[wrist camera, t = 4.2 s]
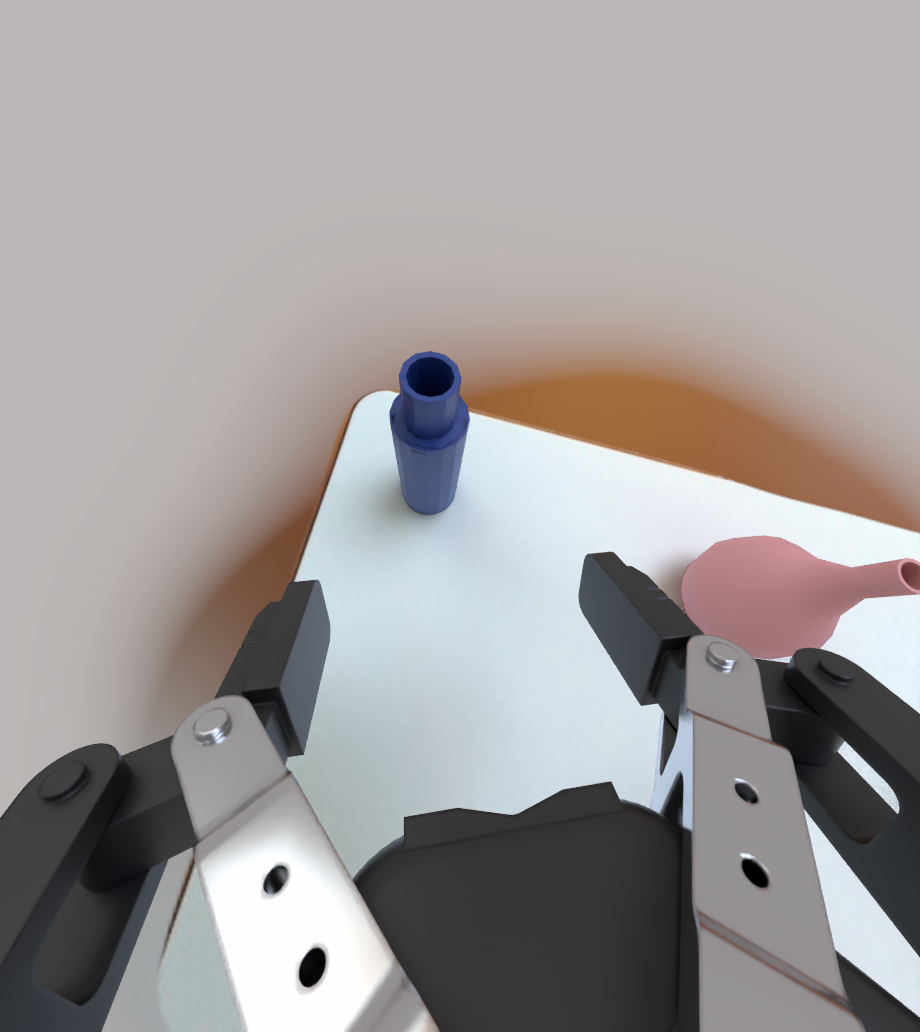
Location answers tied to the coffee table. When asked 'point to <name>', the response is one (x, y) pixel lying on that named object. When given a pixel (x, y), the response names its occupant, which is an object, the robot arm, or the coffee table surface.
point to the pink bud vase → (782, 593)
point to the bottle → (429, 431)
